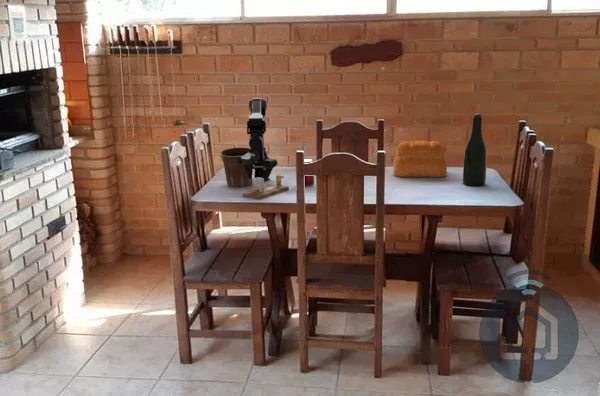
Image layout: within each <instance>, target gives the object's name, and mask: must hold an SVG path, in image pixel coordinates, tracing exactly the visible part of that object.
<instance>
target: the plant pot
mask: <svg viewBox="0 0 600 396" xmlns="http://www.w3.org/2000/svg"><path fill="white" fill-rule="evenodd" d="M249 148H250V147H231V148H230V147H229V148H226V149H223V150H221V151H220V155H221V160H222V162H223V163H222V164H223V167H224V175H225V180H226V185H227V186H228V187H230V188H231V187H232V188H242V187H248V186H250V185H251V184H253V178H252V179H249V176H248V174H247V171H246V169H245V167H243V166H242V165H240V163H238V159H239V157H241V156H244V155H245V154H247V153H248V150H249Z"/></svg>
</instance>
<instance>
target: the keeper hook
mask: <svg viewBox="0 0 600 396" xmlns="http://www.w3.org/2000/svg"><path fill="white" fill-rule="evenodd" d="M284 178H285V176H284V175H282V174H275V184H276V186H281V185H282V179H284Z"/></svg>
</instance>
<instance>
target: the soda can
mask: <svg viewBox="0 0 600 396" xmlns="http://www.w3.org/2000/svg"><path fill="white" fill-rule="evenodd" d="M310 162H314V159H310V158H304V163H310ZM314 163H315V162H314ZM314 185H315V175H314V176H305V188H307V187H313V186H314Z"/></svg>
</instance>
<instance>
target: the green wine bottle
mask: <svg viewBox="0 0 600 396" xmlns="http://www.w3.org/2000/svg"><path fill="white" fill-rule="evenodd" d="M471 120H472V123H471V132H470V135H469V139H468V141H467V143H466V146H465V149H464V155H463V168H462V169H463V170H462V184H463V185H465V186H470V187H481V186H485V185H486V182H487V163H488V162H487V159H488V157H487V155H488V153H487V151H488V150H487V145H486V141H485V140H484V136H483V116H482V113H474V114H473V116H472V119H471Z"/></svg>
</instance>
